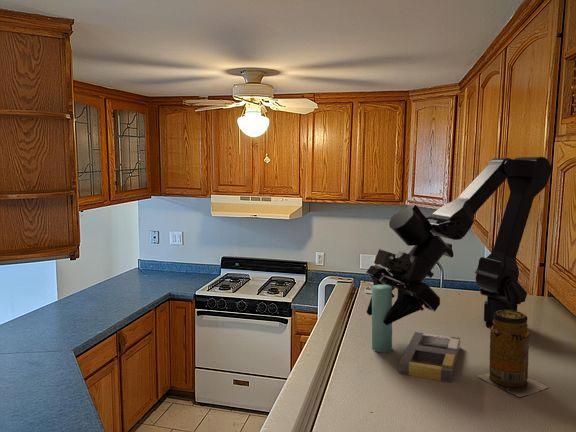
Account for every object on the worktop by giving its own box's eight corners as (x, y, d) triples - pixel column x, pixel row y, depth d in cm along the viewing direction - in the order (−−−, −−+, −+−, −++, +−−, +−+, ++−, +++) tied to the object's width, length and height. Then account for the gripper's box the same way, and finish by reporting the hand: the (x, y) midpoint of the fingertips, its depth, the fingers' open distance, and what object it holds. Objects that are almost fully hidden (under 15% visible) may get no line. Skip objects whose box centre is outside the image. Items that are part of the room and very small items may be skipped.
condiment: (505, 368, 84) (507, 305, 83) (548, 388, 77) (551, 319, 75) (476, 377, 81) (478, 312, 80) (519, 399, 74) (521, 327, 72)
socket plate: (459, 347, 94) (460, 336, 94) (451, 382, 80) (451, 369, 79) (415, 340, 98) (415, 330, 97) (399, 373, 83) (399, 361, 83)
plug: (394, 346, 95) (394, 285, 94) (389, 354, 92) (389, 291, 90) (375, 343, 97) (374, 283, 95) (369, 350, 93) (369, 289, 92)
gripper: (373, 229, 101) (329, 283, 99) (428, 242, 84) (377, 309, 82) (403, 260, 105) (361, 313, 103) (461, 279, 88) (413, 343, 85)
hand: (376, 318), depth 93 cm, fingers open, 6 cm apart
